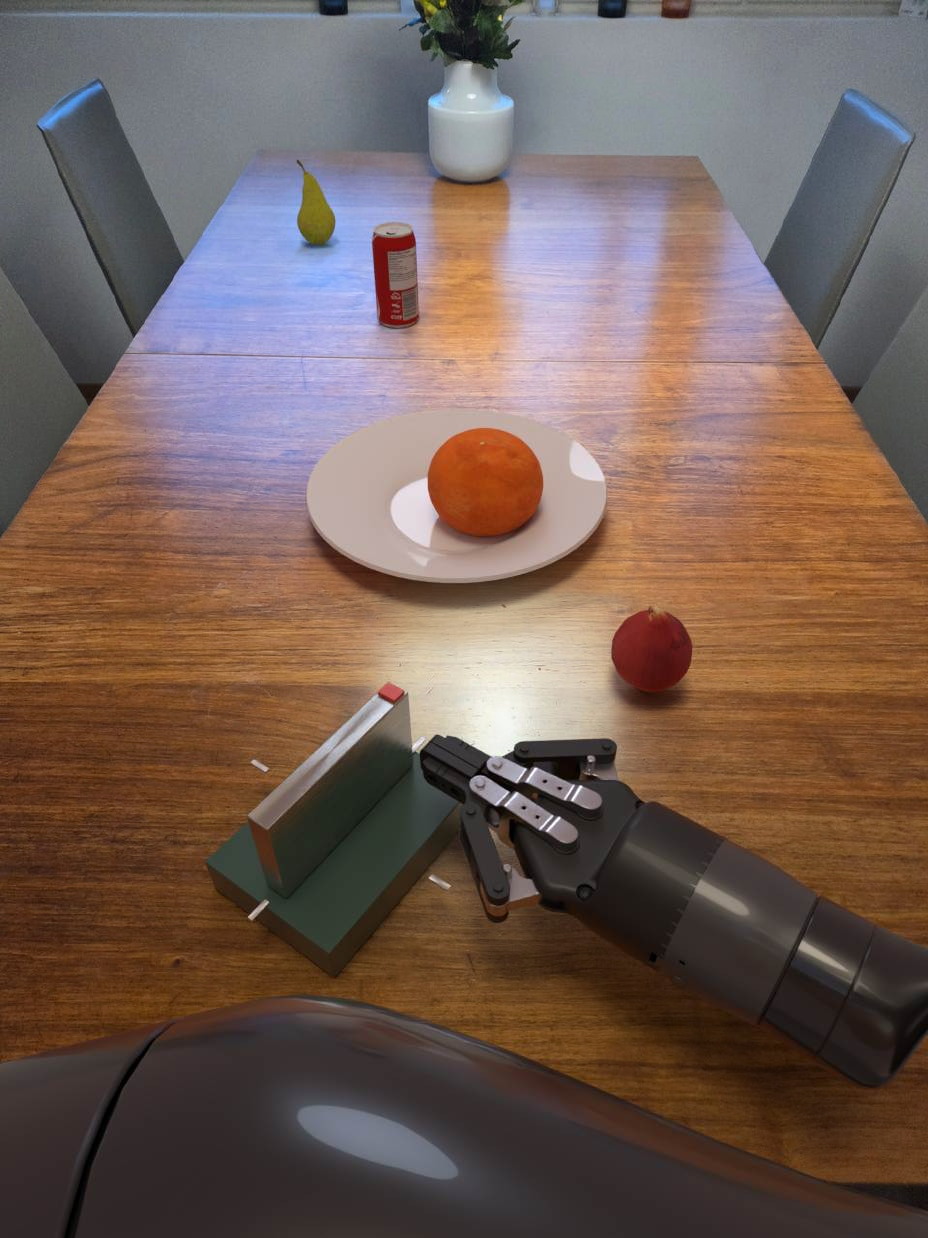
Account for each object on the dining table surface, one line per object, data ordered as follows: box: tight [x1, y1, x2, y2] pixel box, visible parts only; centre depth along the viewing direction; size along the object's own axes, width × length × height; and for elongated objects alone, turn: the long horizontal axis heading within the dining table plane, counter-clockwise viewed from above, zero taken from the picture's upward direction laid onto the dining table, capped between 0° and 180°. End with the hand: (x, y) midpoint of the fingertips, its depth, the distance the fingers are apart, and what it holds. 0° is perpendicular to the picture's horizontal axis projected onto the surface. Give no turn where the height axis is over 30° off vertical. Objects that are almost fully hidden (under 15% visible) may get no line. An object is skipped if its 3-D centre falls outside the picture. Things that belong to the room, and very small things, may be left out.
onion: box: [610, 605, 693, 693], centre depth 64 cm, size 6×6×8 cm
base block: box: [205, 736, 463, 979], centre depth 55 cm, size 16×16×3 cm
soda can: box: [371, 221, 420, 329], centre depth 112 cm, size 6×6×12 cm
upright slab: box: [246, 681, 413, 898], centre depth 52 cm, size 12×2×7 cm, turn 144°
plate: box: [305, 408, 608, 584], centre depth 81 cm, size 28×28×9 cm
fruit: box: [296, 159, 336, 246], centre depth 133 cm, size 6×6×12 cm
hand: (427, 752), depth 52 cm, fingers closed
